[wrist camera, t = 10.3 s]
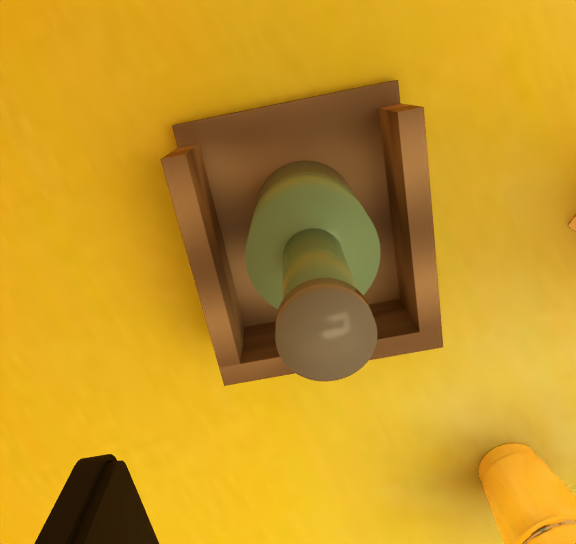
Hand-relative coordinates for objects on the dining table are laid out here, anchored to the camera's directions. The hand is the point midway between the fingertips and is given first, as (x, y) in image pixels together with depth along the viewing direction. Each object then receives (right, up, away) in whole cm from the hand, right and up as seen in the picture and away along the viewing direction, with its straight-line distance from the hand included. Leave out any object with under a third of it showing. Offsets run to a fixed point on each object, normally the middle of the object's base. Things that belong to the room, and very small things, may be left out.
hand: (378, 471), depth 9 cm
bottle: (-1, +7, +19) cm, 21 cm away
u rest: (-1, +7, +20) cm, 21 cm away
